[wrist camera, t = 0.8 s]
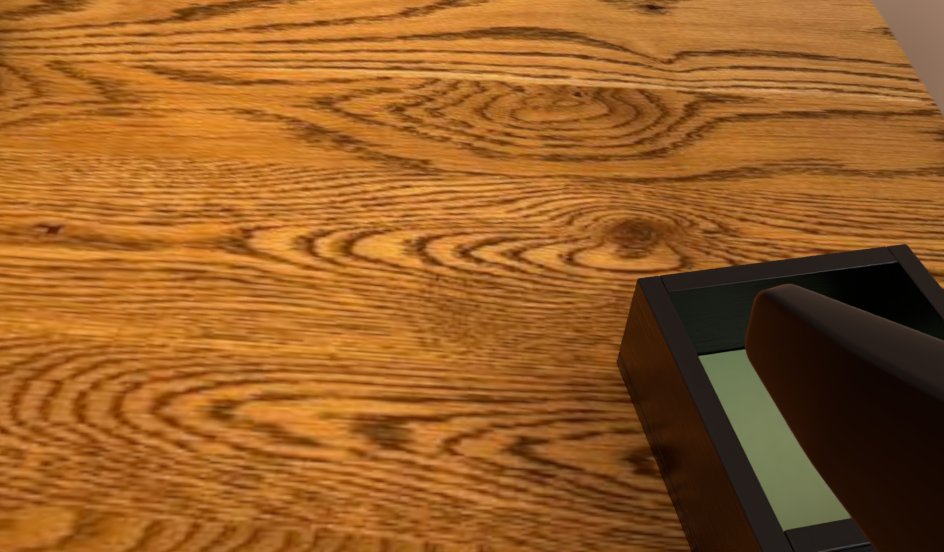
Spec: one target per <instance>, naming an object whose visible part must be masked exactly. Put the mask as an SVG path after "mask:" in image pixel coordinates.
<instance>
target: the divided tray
mask: <svg viewBox="0 0 944 552" xmlns="http://www.w3.org/2000/svg"><path fill="white" fill-rule="evenodd" d="M783 284H794V285H797V286H800V287H802V288H805V289H808V290H810V291H813V292H816V293H818V294H821V295H824V296H826V297H829V298H832V299H834V300H837V301H840V302H842V303H845V304H848V305H850V306H853V307H856V308H858V309H861V310H863V311H866V312H869V313H871V314H874V315H877V316H879V317H882V318H885V319H887V320H890V321H893V322H895V323H898V324H901V325H903V326H906V327H909V328H911V329H914V330H917V331H919V332H922V333H925V334H927V335H930V336H933V337H935V338H938V339H941V340H943V341H944V290H943V289H942V288H941V286H940V285H939V284H938V283H937V281H936V280H935V279H934V278H933V276H932V275H931V274H930V273H929V271H928V270H927V269H926V268H925V267H924V265H923V264H922V263H921V262H920V260H919V259H918V258H917V257H916V255H915V254H914V253H913V252H912V250H911V249H910V248H909V247H908V245H906V244H903V245H895V246H888V247H878V248H871V249H863V250H855V251H847V252H840V253H832V254H824V255H816V256H808V257H801V258H793V259H785V260H777V261H770V262H762V263H754V264H746V265H739V266H731V267H723V268H715V269H707V270H700V271H692V272H684V273H676V274H669V275H661V276H660V277H659V276H654V277H646V278H639V279H637V283H636V287H635V291H634V295H633V299H632V303H631V307H630V311H629V315H628V319H627V323H626V327H625V331H624V335H623V339H622V343H621V347H620V351H619V355H618V359H617V363H618V366H619V368H620V371H621V373H622V376H623V378H624V381H625V383H626V386H627V388H628V391H629V393H630V396H631V399H632V401H633V404H634V406H635V409H636V411H637V414H638V416H639V419H640V421H641V424H642V426H643V429H644V431H645V434H646V436H647V439H648V441H649V444H650V446H651V449H652V451H653V454H654V456H655V459H656V461H657V464H658V467H659V469H660V472H661V474H662V477H663V479H664V482H665V484H666V487H667V489H668V492H669V494H670V497H671V499H672V502H673V504H674V507H675V509H676V512H677V514H678V517H679V519H680V522H681V524H682V527H683V529H684V532H685V535H686V537H687V540H688V542H689V545H690V547H691V550H692V552H877V551H876V550H875V548H874V547H873V546H872V544H871V543H870V542H869V540H868V539H867V538H866V536H865V535H864V534H863V532H862V531H861V530H860V528H859V527H858V526H857V524H856V523H855V522H854V520H853V519H852V518H851V516H850V515H849V514H848V512H847V511H846V510H845V508H844V507H843V506H842V504H841V503H840V502H839V500H838V499H837V498H836V496H835V495H834V494H833V492H832V491H831V489H830V488H829V487H828V485H827V484H826V483H825V481H824V480H823V479H822V477H821V476H820V475H819V473H818V472H817V470H816V469H815V468H814V466H813V465H812V463H811V462H810V460H809V459H808V457H807V456H806V454H805V453H804V451H803V449H802V448H801V446H800V445H799V443H798V441H797V440H796V438H795V436H794V435H793V433H792V431H791V430H790V428H789V426H788V425H787V423H786V421H785V420H784V418H783V416H782V415H781V413H780V411H779V410H778V408H777V406H776V405H775V403H774V401H773V400H772V398H771V396H770V395H769V393H768V391H767V390H766V388H765V386H764V385H763V383H762V381H761V380H760V378H759V376H758V375H757V373H756V371H755V370H754V368H753V366H752V365H751V363H750V361H749V359H748V356H747V354H746V349H745V338H746V333H747V329H748V325H749V320H750V316H751V312H752V307H753V303H754V300H755V297H756V296H757V295H758V293H759V292H761V291H762V290H766V289H769V288H773V287H776V286H780V285H783Z"/></svg>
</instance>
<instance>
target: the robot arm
mask: <svg viewBox="0 0 944 552" xmlns="http://www.w3.org/2000/svg"><path fill="white" fill-rule="evenodd" d="M745 349H746V354H747V356H748V359H749V361H750V363H751V365H752V366H753V368H754V370H755V371H756V373H757V375H758V376H759V378H760V380H761V381H762V383H763V385H764V386H765V388H766V390H767V391H768V393H769V395H770V396H771V398H772V400H773V401H774V403H775V405H776V406H777V408H778V410H779V411H780V413H781V415H782V416H783V418H784V420H785V421H786V423H787V425H788V426H789V428H790V430H791V431H792V433H793V435H794V436H795V438H796V440H797V441H798V443H799V445H800V446H801V448H802V449H803V451H804V453H805V454H806V456H807V457H808V459H809V460H810V462H811V463H812V465H813V466H814V468H815V469H816V470H817V472H818V473H819V475H820V476H821V477H822V479H823V480H824V481H825V483H826V484H827V485H828V487H829V488H830V489H831V491H832V492H833V494H834V495H835V496H836V498H837V499H838V500H839V502H840V503H841V504H842V506H843V507H844V508H845V510H846V511H847V512H848V514H849V515H850V516H851V518H852V519H853V520H854V522H855V523H856V524H857V526H858V527H859V528H860V530H861V531H862V532H863V534H864V535H865V536H866V538H867V539H868V540H869V542H870V543H871V544H872V546H873V547H874V548H875V550H876V551H877V552H944V341H943V340H941V339H938V338H935V337H933V336H930V335H927V334H925V333H922V332H919V331H917V330H914V329H911V328H909V327H906V326H903V325H901V324H898V323H895V322H893V321H890V320H887V319H885V318H882V317H879V316H877V315H874V314H871V313H869V312H866V311H863V310H861V309H858V308H856V307H853V306H850V305H848V304H845V303H842V302H840V301H837V300H834V299H832V298H829V297H826V296H824V295H821V294H818V293H816V292H813V291H810V290H808V289H805V288H802V287H800V286H797V285H794V284H783V285H780V286H776V287H773V288H769V289H766V290H762V291H761V292H759V293H758V295H757V296H756V297H755V300H754V303H753V307H752V312H751V316H750V320H749V325H748V329H747V333H746V338H745Z"/></svg>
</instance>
